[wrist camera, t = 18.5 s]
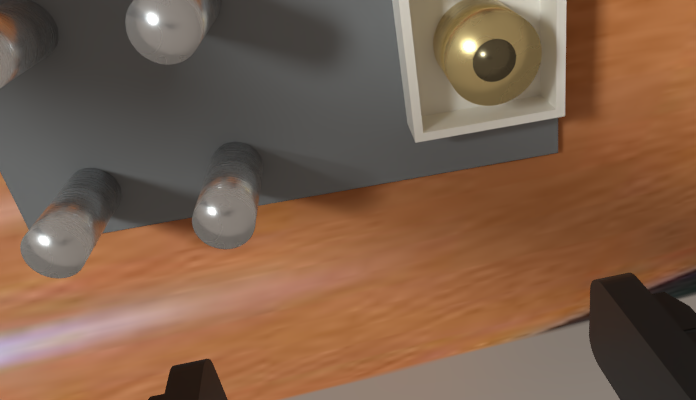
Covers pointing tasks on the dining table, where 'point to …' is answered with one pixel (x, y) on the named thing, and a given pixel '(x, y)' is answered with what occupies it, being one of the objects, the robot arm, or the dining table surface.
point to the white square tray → (438, 93)
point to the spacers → (100, 186)
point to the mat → (228, 109)
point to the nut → (487, 51)
